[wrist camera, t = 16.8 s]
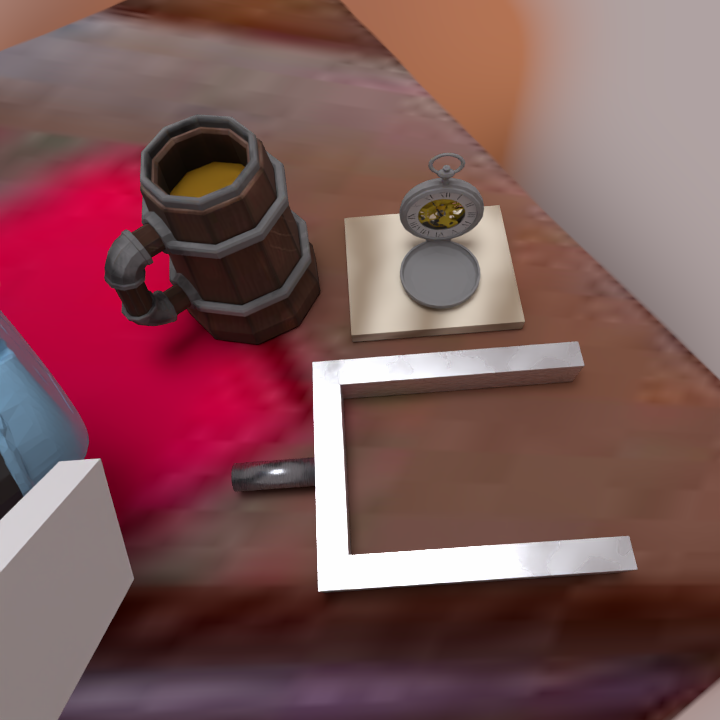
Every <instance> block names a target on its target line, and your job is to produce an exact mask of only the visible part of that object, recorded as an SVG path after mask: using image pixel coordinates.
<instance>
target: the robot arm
mask: <svg viewBox="0 0 720 720" xmlns="http://www.w3.org/2000/svg"><path fill="white" fill-rule="evenodd" d="M88 444H89V437H88V432H87V429H86V426H85V424H84V422H83V420H82V418H81V417H80V415H79V413H78V411H77V410H76V408H75V407H74V405H73V404H72V402H71V401H70V399H69V398H68V396H67V395H66V393H65V392H64V391H63V389H62V388H61V386H60V385H59V384H58V382H57V381H56V380H55V378H54V377H53V375H52V374H51V373H50V371H49V370H48V369H47V367H46V366H45V365H44V364H43V362H42V361H41V360H40V358H39V357H38V356H37V354H36V353H35V352H34V351H33V349H32V348H31V347H30V346H29V344H28V343H27V342H26V341H25V339H24V338H23V337H22V336H21V334H20V333H19V332H18V331H17V330H16V328H15V327H14V326H13V325H12V324H11V322H10V321H9V320H8V319H7V318H6V316H5V315H4V314H3V313H2V312H1V311H0V720H58V718H59V717H60V715H61V713H62V711H63V709H64V707H65V706H66V704H67V702H68V700H69V698H70V696H71V694H72V693H73V691H74V689H75V687H76V685H77V683H78V682H79V680H80V678H81V676H82V674H83V672H84V670H85V669H86V667H87V665H88V663H89V661H90V659H91V658H92V656H93V654H94V652H95V650H96V648H97V646H98V645H99V643H100V641H101V639H102V637H103V635H104V634H105V632H106V630H107V628H108V626H109V624H110V622H111V621H112V619H113V617H114V615H115V613H116V611H117V610H118V608H119V606H120V604H121V602H122V600H123V599H124V597H125V595H126V593H127V591H128V589H129V587H130V586H131V584H132V582H133V580H134V577H133V573H132V570H131V566H130V563H129V559H128V555H127V552H126V548H125V545H124V541H123V537H122V534H121V530H120V527H119V523H118V519H117V516H116V512H115V509H114V505H113V501H112V498H111V494H110V491H109V487H108V483H107V480H106V476H105V473H104V469H103V465H102V462H101V458H99V459H86V460H83V459H84V457H85V456H86V453H87V449H88Z"/></svg>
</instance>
